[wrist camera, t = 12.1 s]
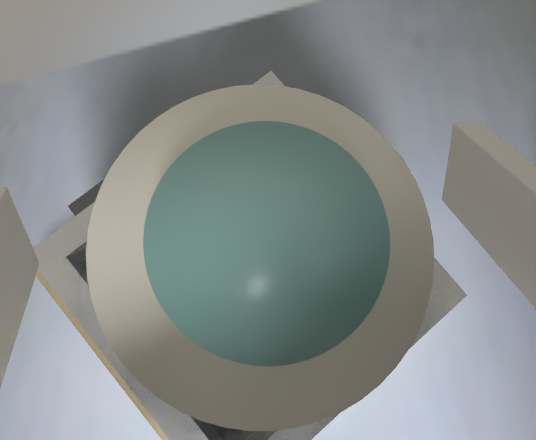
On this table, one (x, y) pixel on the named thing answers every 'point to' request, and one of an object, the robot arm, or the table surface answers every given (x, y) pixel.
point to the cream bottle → (259, 257)
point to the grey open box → (85, 320)
